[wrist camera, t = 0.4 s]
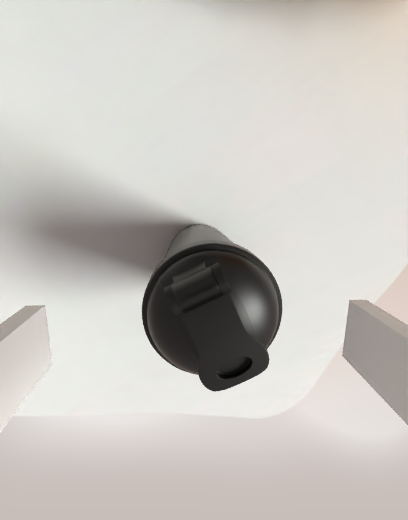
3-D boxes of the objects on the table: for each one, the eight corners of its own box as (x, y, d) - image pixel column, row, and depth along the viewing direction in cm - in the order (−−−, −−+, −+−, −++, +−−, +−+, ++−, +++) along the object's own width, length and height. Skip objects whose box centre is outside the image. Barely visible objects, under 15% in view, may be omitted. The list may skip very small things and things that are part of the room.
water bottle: (183, 302, 42) (179, 430, 19) (149, 238, 39) (101, 299, 17) (248, 271, 41) (322, 367, 19) (218, 205, 39) (262, 223, 16)
